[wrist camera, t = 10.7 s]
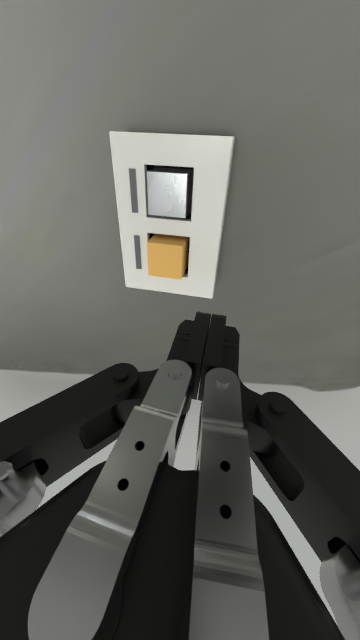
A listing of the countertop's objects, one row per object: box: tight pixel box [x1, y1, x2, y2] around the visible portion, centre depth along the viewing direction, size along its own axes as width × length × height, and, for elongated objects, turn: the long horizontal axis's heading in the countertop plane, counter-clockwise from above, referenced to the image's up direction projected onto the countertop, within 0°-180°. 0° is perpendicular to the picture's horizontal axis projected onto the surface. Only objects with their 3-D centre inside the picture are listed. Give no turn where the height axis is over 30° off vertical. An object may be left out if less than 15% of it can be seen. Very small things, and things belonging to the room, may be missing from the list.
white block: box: [147, 168, 194, 218], centre depth 32 cm, size 5×5×4 cm
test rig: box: [109, 131, 235, 298], centre depth 36 cm, size 20×14×6 cm
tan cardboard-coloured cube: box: [147, 234, 189, 280], centre depth 36 cm, size 5×5×4 cm
